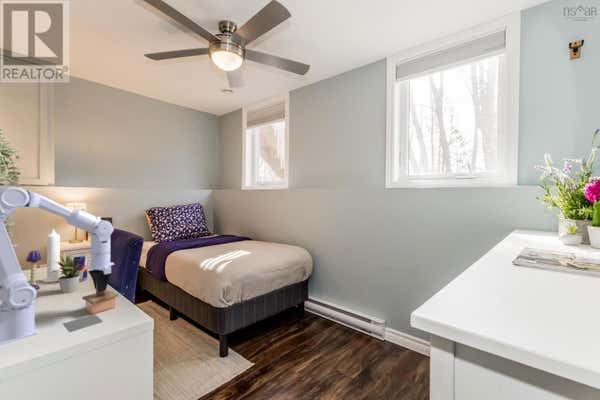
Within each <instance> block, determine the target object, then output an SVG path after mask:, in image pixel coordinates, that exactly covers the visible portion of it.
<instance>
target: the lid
mask: <svg viewBox="0 0 600 400" xmlns="http://www.w3.org/2000/svg"><path fill="white" fill-rule="evenodd" d="M114 297H115V298H118V297H119V293H116V292H114V291H111V290H109V289H106V290H105V291H101V292H99V291H98V289H97V283H96V289H95V293H91V294H88V295H84V296H82V300H84V301H85V302H86V301H88V302H90V303H92V304H95V303H98V302H101V301H104V300H108V299H111V298H114Z"/></svg>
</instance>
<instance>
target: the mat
mask: <svg viewBox="0 0 600 400" xmlns="http://www.w3.org/2000/svg"><path fill="white" fill-rule="evenodd" d="M103 322H104V321H103V320H102V318H100V317H98V316H97V314H94V315H91V314H90V315H88V316H84V317H80V318H78V319H74V320H70V321H67V322H64V323H62V325H63V326H64V328H66V330H67V331H68V332H69V333H72V332H75V331H78V330H82V329H84V328H88V327H91V326H95V325H97V324H101V323H103Z"/></svg>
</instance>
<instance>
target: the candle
mask: <svg viewBox="0 0 600 400" xmlns="http://www.w3.org/2000/svg"><path fill="white" fill-rule="evenodd" d="M57 255H58V256H57ZM59 256H61V235H60V234H59V233H56V231H55V228H52V231H51V233H49V234H48V235H47V236H46V278H44V279H43V283H44V284H45V283H46V284H49V283H58V282H59V279H58V278H59V277H61V269H60V268H61V266H60V265H59V263H55V262H60V263H61V258H60V257H59ZM53 270H54V271H56V272H53ZM51 272H53V273H51ZM57 272H58V273H57ZM50 273H51V274H50ZM59 273H60V274H59Z"/></svg>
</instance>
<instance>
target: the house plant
mask: <svg viewBox="0 0 600 400" xmlns="http://www.w3.org/2000/svg"><path fill="white" fill-rule="evenodd" d="M73 254H74V253H72V254H71V256H69V255H68V254H66V256H65V259H64V257H63V256H61V255H60V256H59V257H60V262H55V263H59V265H60V273H59V274H60V277H59V278H58V279H59V281H58V283H59V287H60V292H61V293H62V294H69V293H75V292H76V291H77V290H78V288H79V284H80V283H79V278H80V275H79V274H77V273H78V272H79V271H78V270H79V269H80V268H82V267H78V266H79V265H77V264H78V263H77V264H76V265H77V266H75V267H74V261H73V257H72V256H74V255H73ZM57 256H58V255H57ZM86 258H87V259H88V256H87V257H86ZM84 259H85V258H84ZM80 260H81V259H80ZM80 260H79V261H80ZM79 261H78V262H79ZM80 265H82V264H80ZM73 267H74V269H73ZM77 267H78V268H77ZM76 268H77V269H76ZM75 269H76V270H75ZM61 270H62V271H61ZM81 270H83V269H81ZM81 270H80V271H81ZM77 271H78V272H77ZM53 272H56V271H54V270H53ZM53 272H51V273H53ZM76 272H77V273H76ZM51 273H50V274H51ZM57 273H58V272H57ZM75 273H76V274H75Z"/></svg>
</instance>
